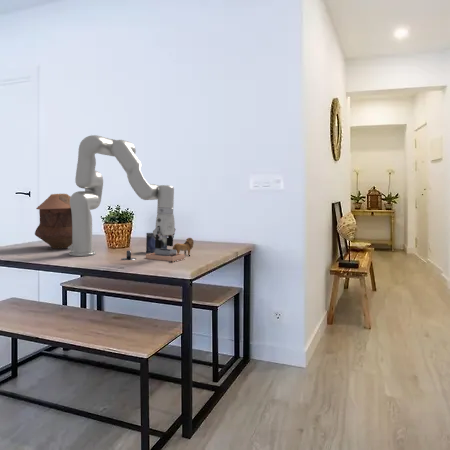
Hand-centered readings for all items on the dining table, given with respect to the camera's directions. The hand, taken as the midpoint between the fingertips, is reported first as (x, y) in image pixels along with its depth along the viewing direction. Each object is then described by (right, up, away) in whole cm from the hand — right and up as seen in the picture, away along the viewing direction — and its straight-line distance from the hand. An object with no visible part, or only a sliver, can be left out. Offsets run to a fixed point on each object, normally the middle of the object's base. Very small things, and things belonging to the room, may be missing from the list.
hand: (164, 247), depth 194 cm
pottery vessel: (-62, -2, +32) cm, 70 cm away
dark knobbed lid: (-16, -6, -4) cm, 17 cm away
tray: (+1, -6, 0) cm, 6 cm away
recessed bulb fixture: (+1, -5, 0) cm, 5 cm away
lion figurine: (+8, -5, +11) cm, 15 cm away
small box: (-7, -4, +19) cm, 21 cm away
